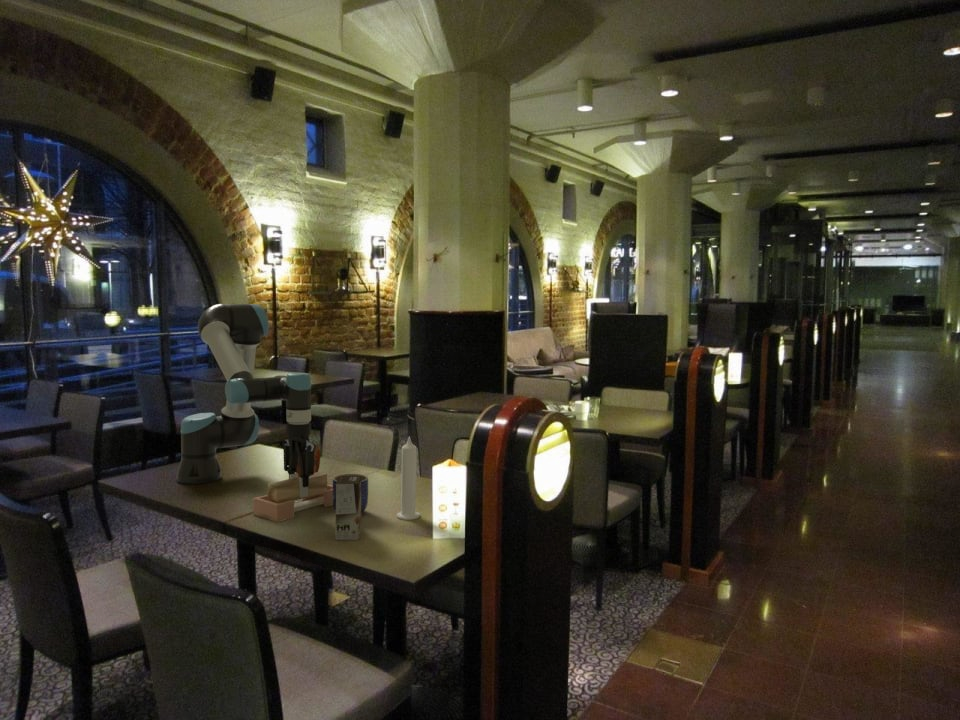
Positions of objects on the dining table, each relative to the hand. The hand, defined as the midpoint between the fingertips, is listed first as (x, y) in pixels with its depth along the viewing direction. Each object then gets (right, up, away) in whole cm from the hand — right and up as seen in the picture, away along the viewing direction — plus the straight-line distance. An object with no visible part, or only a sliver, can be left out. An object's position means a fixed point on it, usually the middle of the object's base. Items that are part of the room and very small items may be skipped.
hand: (298, 495), depth 220 cm
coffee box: (+20, -7, -23) cm, 31 cm away
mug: (-2, -2, +22) cm, 22 cm away
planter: (+17, -5, -3) cm, 18 cm away
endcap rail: (0, -4, 0) cm, 4 cm away
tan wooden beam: (0, -1, 0) cm, 1 cm away
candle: (+35, -6, -5) cm, 36 cm away
